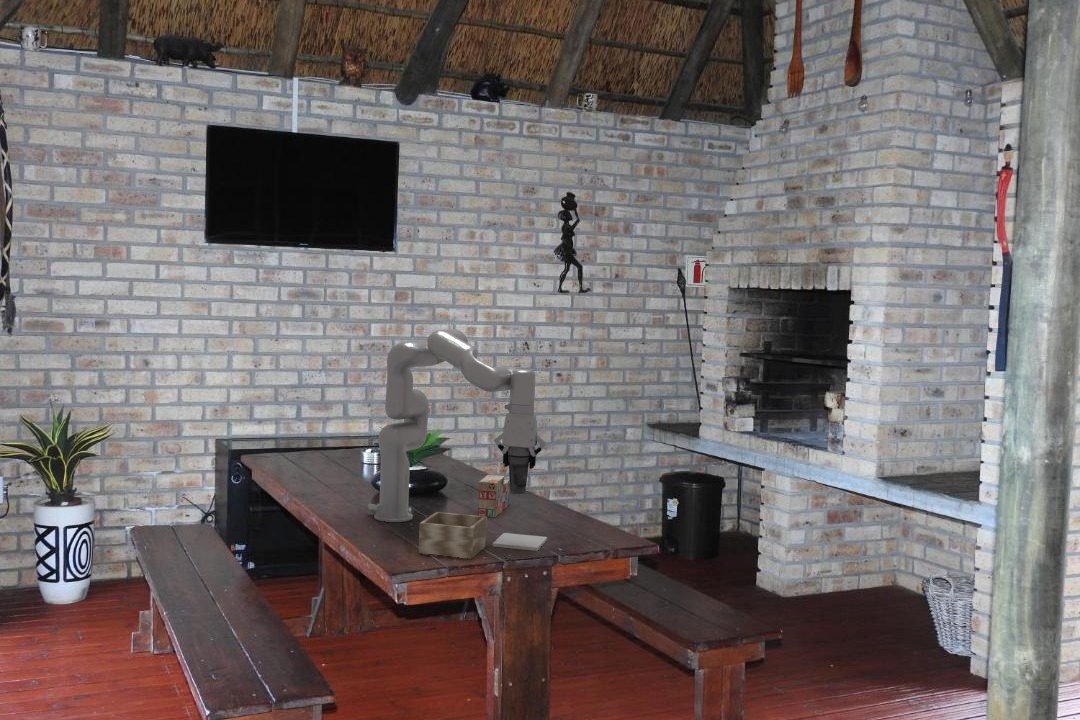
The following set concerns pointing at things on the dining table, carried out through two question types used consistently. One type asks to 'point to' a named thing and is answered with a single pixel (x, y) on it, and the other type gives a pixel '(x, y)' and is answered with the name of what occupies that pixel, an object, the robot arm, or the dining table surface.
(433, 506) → the dining table surface
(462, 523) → the crate
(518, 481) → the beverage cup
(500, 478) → the stack of blocks
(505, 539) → the tile
